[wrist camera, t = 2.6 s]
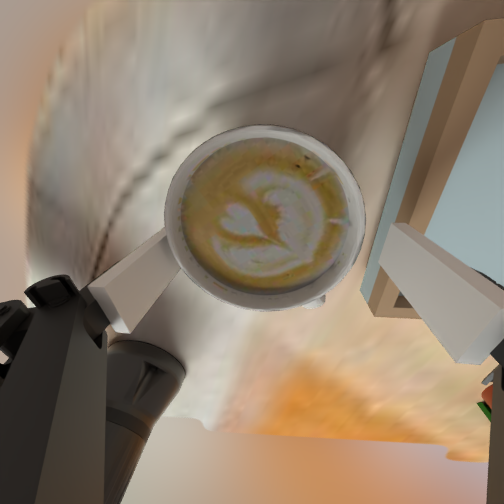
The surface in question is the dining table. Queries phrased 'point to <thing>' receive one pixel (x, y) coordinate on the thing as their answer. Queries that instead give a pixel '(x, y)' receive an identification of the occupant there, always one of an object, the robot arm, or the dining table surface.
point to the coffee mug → (265, 218)
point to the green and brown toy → (488, 399)
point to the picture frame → (450, 165)
